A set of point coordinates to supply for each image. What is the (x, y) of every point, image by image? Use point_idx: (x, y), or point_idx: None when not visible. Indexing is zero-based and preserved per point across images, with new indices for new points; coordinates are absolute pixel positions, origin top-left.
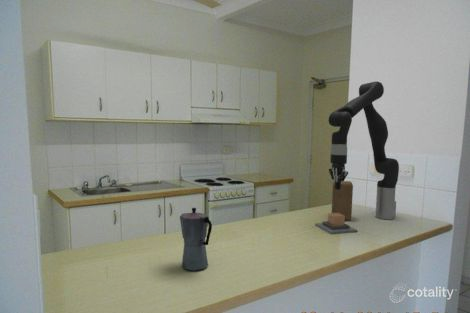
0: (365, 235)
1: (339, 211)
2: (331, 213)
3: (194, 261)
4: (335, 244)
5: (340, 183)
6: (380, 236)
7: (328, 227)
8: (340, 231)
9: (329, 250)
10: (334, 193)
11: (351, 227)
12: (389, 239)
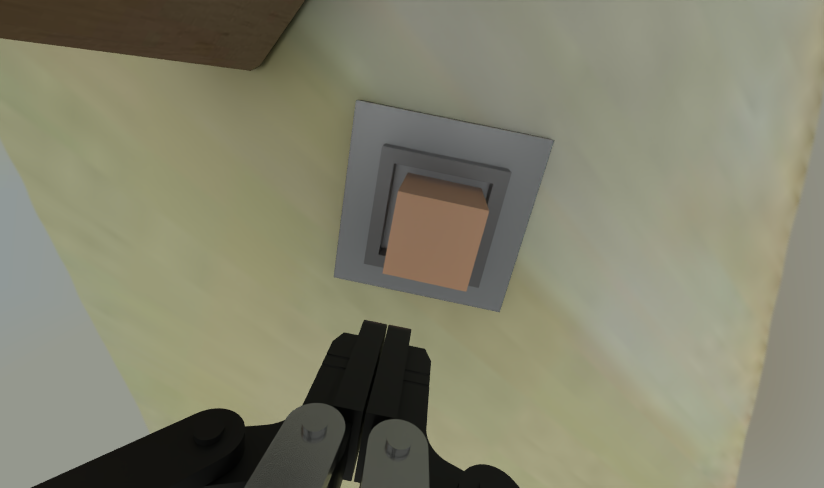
0: (621, 142)
1: (257, 21)
2: (392, 253)
3: None
4: (612, 386)
5: (425, 421)
6: (697, 59)
7: None
8: (516, 257)
9: (643, 449)
10: (92, 39)
11: (495, 131)
12: (771, 54)
